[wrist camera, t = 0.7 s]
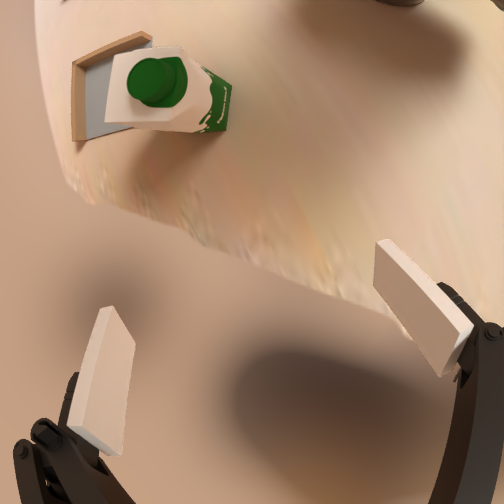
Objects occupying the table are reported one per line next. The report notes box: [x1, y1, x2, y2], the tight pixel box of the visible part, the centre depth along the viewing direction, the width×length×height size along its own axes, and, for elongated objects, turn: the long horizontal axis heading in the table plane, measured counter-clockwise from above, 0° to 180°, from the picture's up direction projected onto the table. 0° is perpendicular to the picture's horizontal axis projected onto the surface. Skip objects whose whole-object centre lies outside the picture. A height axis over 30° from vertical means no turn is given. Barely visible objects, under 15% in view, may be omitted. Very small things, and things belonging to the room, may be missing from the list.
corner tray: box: [71, 31, 152, 141], centre depth 39 cm, size 16×16×3 cm
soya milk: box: [104, 45, 232, 133], centre depth 30 cm, size 9×9×20 cm
